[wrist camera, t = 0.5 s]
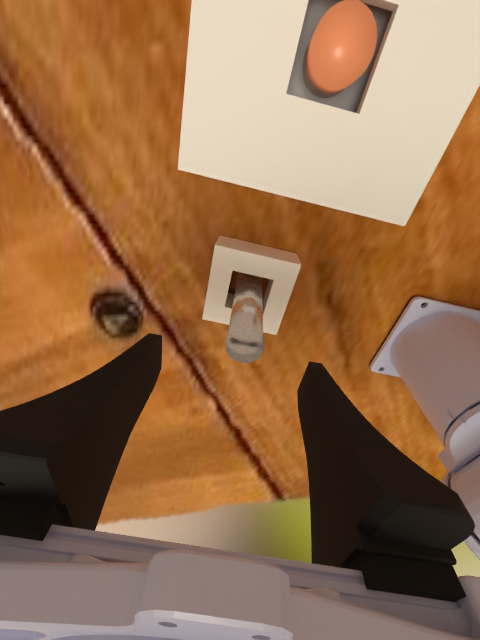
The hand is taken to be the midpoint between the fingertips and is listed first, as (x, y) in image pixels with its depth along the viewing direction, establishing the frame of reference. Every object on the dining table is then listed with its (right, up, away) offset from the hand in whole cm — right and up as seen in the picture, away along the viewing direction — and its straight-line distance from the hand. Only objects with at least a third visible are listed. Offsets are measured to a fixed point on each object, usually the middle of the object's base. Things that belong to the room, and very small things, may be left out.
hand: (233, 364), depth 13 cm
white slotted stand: (+5, +16, +2) cm, 17 cm away
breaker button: (+5, +15, +1) cm, 16 cm away
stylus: (+1, +5, +9) cm, 10 cm away
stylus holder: (+1, +5, +9) cm, 10 cm away
